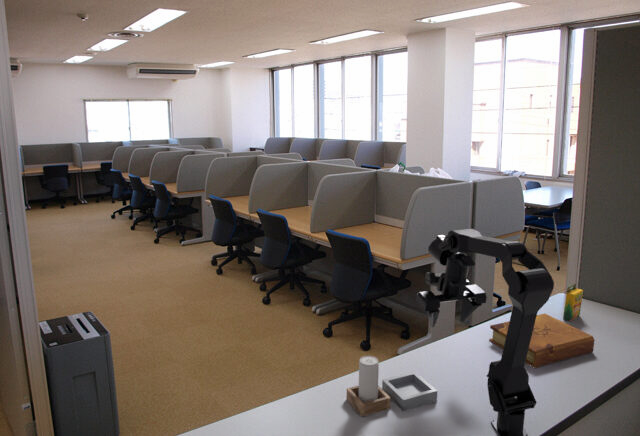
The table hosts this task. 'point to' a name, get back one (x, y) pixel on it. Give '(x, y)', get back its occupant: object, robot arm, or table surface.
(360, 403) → the wooden frame
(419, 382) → the tray
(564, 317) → the crayon box
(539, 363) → the diary
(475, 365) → the table surface
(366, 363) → the beverage can
